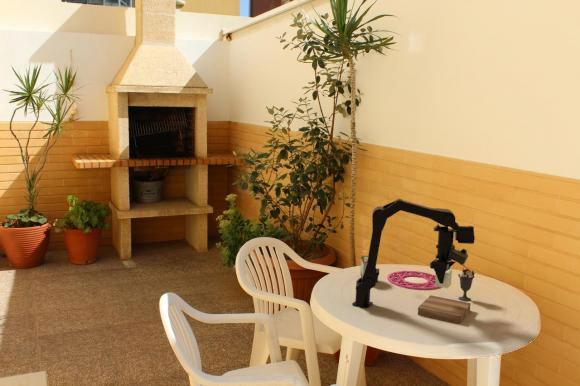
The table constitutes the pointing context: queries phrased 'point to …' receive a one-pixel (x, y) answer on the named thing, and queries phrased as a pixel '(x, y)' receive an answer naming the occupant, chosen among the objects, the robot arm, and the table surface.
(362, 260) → the food container
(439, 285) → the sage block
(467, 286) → the sundae
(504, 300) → the table surface
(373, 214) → the robot arm
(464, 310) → the walnut base
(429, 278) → the trivet
